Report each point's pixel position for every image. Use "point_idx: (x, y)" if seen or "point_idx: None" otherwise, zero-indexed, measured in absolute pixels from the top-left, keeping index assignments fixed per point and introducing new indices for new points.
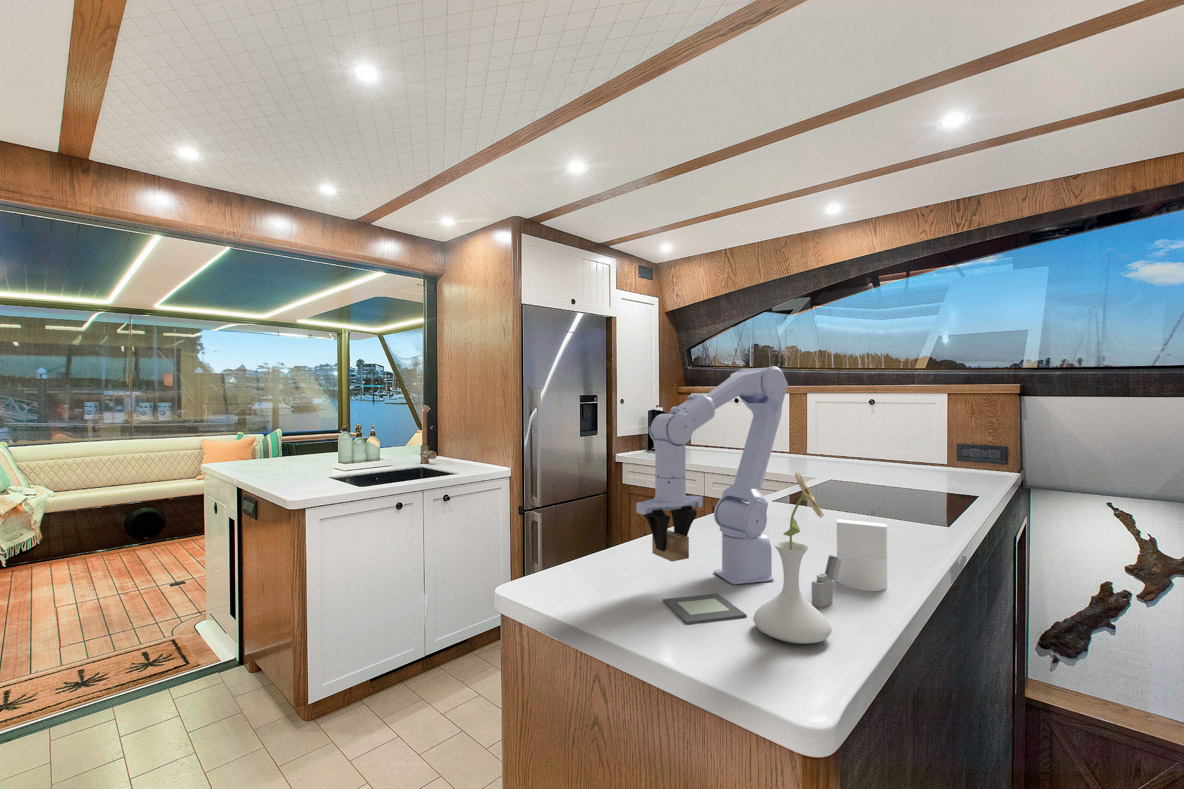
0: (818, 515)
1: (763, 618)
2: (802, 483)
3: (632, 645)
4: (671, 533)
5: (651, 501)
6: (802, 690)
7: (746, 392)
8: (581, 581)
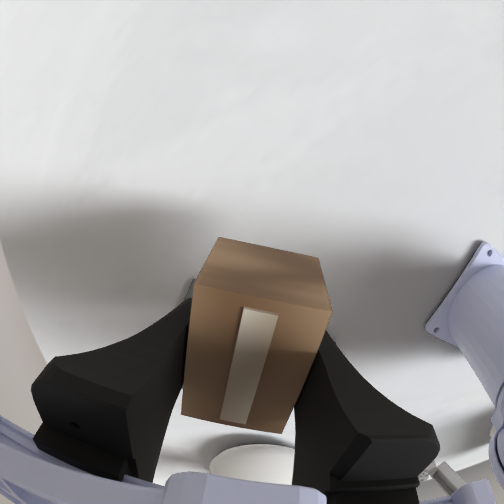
0: None
1: (217, 471)
2: None
3: (44, 345)
4: (273, 365)
5: (54, 487)
6: (158, 480)
7: None
8: (120, 18)
